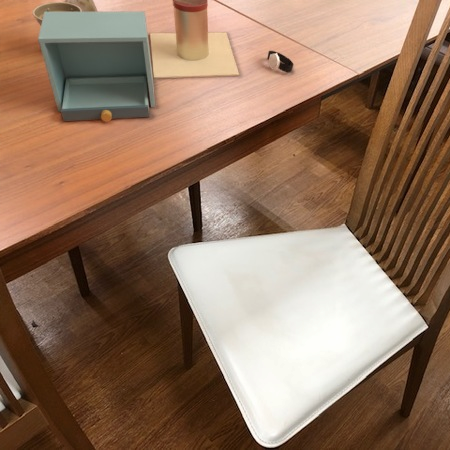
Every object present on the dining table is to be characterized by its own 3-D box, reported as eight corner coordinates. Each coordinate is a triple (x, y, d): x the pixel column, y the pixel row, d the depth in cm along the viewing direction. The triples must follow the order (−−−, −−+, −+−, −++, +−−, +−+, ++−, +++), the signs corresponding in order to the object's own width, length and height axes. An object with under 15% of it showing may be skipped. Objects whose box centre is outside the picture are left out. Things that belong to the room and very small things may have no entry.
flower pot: (87, 38, 115) (79, 0, 109) (92, 58, 109) (84, 19, 103) (42, 42, 112) (31, 3, 106) (45, 63, 106) (33, 22, 100)
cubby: (155, 107, 99) (146, 37, 89) (58, 111, 95) (37, 38, 85) (152, 79, 106) (144, 11, 96) (62, 82, 102) (44, 11, 92)
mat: (239, 75, 110) (239, 74, 110) (153, 78, 106) (153, 76, 106) (226, 33, 124) (226, 32, 123) (150, 34, 119) (149, 33, 119)
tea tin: (172, 57, 112) (167, 3, 104) (182, 43, 117) (178, -10, 109) (204, 63, 112) (202, 8, 103) (212, 48, 117) (211, -5, 109)
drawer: (149, 120, 95) (148, 110, 94) (63, 124, 92) (60, 114, 90) (147, 83, 104) (146, 73, 103) (68, 86, 101) (65, 76, 99)
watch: (261, 61, 116) (262, 46, 113) (278, 57, 118) (279, 42, 115) (281, 77, 112) (282, 62, 109) (298, 72, 114) (299, 57, 111)
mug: (50, 16, 121) (63, -25, 118) (92, 34, 126) (105, -5, 123) (48, 22, 115) (61, -21, 112) (92, 41, 120) (106, 0, 117)
